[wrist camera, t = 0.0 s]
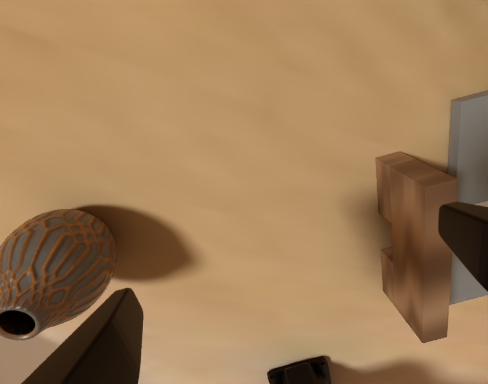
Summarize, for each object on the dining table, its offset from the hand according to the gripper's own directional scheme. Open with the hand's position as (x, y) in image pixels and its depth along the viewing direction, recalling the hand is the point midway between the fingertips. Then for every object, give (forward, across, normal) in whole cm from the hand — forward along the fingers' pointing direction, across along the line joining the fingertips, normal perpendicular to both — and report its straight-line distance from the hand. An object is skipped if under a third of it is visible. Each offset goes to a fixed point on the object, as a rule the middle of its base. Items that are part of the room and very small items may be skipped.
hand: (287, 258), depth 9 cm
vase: (+15, +14, +4) cm, 21 cm away
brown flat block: (+15, -11, +11) cm, 22 cm away
